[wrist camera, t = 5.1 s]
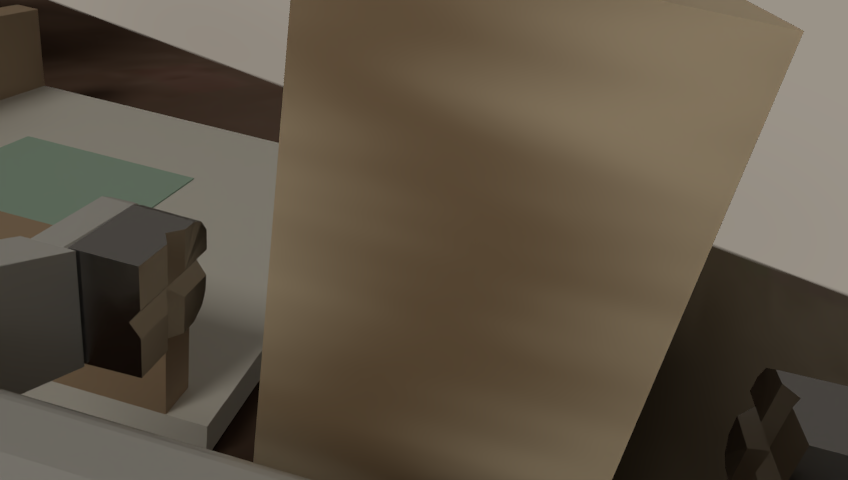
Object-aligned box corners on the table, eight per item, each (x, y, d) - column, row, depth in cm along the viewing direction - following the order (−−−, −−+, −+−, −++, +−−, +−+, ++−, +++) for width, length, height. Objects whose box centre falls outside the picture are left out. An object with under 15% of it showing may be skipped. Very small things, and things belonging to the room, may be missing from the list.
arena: (387, 190, 31) (403, 94, 29) (206, 458, 16) (211, 296, 14) (27, 101, 32) (17, 4, 30) (-446, 264, 17) (-528, 96, 15)
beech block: (512, 541, 15) (710, -19, 10) (489, 765, 11) (804, 30, 6) (322, 485, 16) (407, -81, 10) (235, 680, 12) (296, -77, 6)
